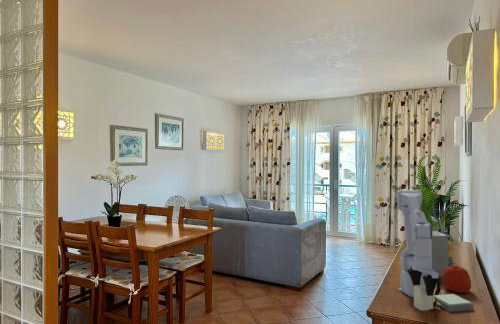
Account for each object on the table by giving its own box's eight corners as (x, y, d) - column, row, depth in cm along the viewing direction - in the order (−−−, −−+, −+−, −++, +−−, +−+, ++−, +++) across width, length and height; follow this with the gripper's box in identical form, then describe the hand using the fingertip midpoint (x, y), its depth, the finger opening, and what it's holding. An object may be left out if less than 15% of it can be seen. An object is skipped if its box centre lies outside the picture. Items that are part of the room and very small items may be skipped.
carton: (414, 306, 133) (413, 285, 133) (425, 305, 134) (425, 284, 134) (420, 310, 129) (420, 288, 129) (432, 309, 130) (432, 288, 130)
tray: (431, 301, 138) (431, 295, 138) (453, 299, 139) (453, 293, 139) (449, 311, 128) (449, 304, 128) (473, 309, 129) (473, 302, 129)
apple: (436, 288, 152) (436, 264, 153) (453, 284, 157) (453, 261, 157) (460, 296, 143) (459, 270, 143) (477, 292, 147) (476, 267, 147)
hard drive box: (449, 278, 166) (448, 236, 167) (431, 277, 168) (430, 235, 168) (438, 269, 181) (437, 230, 182) (422, 268, 183) (421, 230, 183)
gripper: (401, 251, 138) (402, 286, 138) (425, 261, 124) (426, 299, 124) (417, 250, 140) (418, 285, 139) (443, 260, 125) (444, 298, 125)
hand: (423, 291), depth 132 cm, fingers open, 7 cm apart
